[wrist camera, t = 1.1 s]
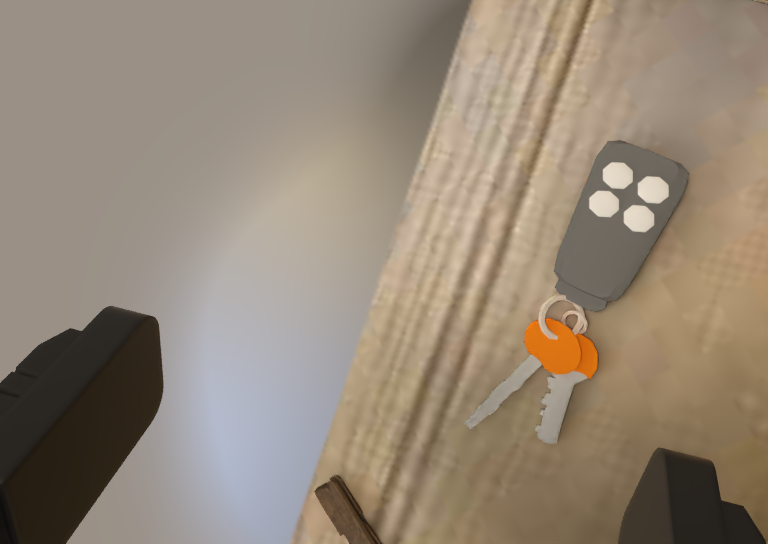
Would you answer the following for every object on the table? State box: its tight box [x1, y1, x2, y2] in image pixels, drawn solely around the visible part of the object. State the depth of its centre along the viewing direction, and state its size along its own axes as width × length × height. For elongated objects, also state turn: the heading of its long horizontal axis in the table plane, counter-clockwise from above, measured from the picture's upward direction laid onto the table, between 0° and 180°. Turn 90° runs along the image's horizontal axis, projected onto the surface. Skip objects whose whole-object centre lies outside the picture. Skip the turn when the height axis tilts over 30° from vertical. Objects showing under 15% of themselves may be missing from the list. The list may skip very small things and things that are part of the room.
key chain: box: [464, 140, 689, 444], centre depth 28 cm, size 13×4×2 cm, turn 154°
